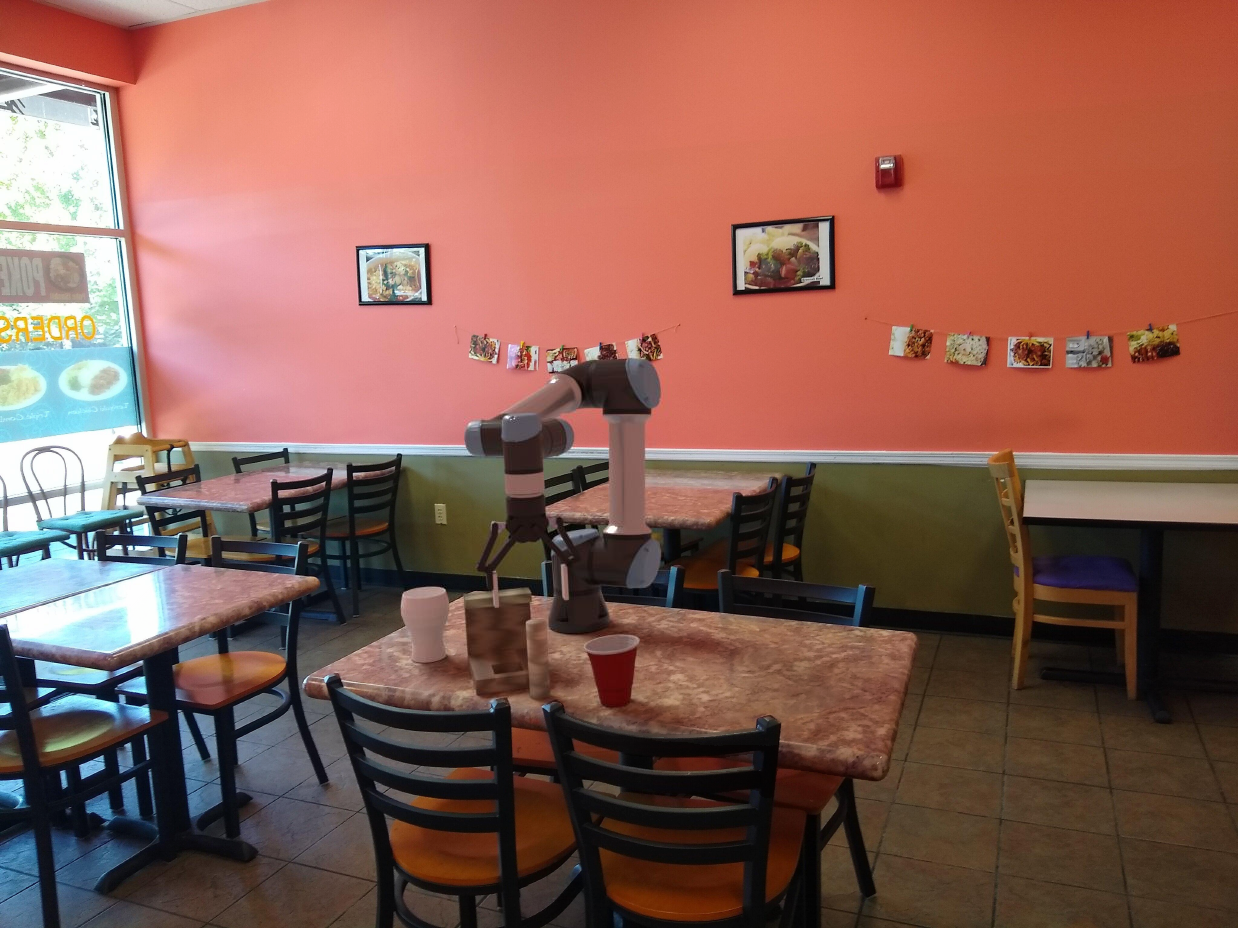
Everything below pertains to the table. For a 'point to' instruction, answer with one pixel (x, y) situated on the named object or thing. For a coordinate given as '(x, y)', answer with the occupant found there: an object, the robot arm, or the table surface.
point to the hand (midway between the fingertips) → (531, 602)
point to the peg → (538, 659)
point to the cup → (426, 622)
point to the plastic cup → (613, 667)
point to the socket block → (498, 639)
